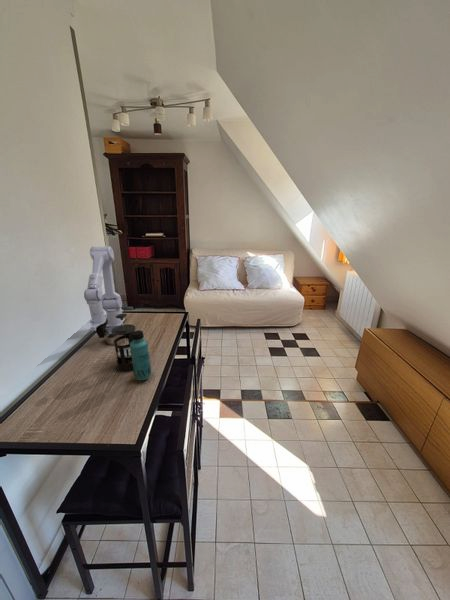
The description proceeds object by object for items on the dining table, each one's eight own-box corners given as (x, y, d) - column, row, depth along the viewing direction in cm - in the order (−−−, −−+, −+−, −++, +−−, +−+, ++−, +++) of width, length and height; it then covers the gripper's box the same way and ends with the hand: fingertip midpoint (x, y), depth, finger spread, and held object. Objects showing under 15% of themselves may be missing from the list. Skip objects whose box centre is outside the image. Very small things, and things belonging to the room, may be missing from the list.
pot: (110, 335, 130) (109, 324, 128) (128, 334, 131) (126, 323, 129) (102, 346, 119) (100, 335, 117) (121, 345, 120) (120, 334, 118)
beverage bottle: (131, 380, 95) (123, 334, 88) (143, 371, 101) (137, 326, 94) (143, 385, 92) (136, 338, 86) (156, 375, 98) (150, 330, 91)
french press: (135, 373, 100) (127, 320, 92) (112, 372, 100) (102, 320, 92) (145, 356, 111) (138, 308, 103) (124, 356, 111) (116, 308, 103)
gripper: (94, 307, 126) (99, 331, 131) (81, 318, 112) (87, 345, 117) (109, 306, 126) (113, 330, 131) (97, 318, 113) (102, 344, 117)
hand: (102, 337), depth 124 cm, fingers closed, pressing on pot
